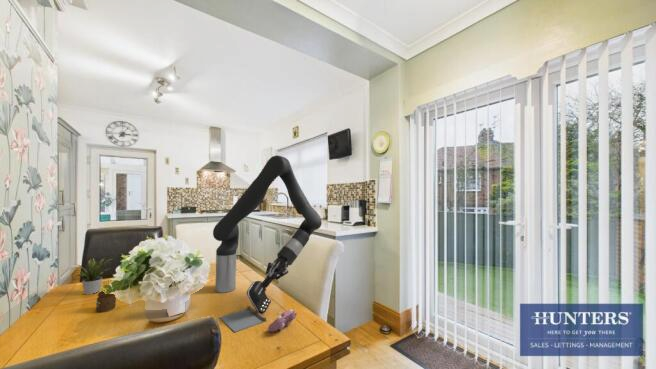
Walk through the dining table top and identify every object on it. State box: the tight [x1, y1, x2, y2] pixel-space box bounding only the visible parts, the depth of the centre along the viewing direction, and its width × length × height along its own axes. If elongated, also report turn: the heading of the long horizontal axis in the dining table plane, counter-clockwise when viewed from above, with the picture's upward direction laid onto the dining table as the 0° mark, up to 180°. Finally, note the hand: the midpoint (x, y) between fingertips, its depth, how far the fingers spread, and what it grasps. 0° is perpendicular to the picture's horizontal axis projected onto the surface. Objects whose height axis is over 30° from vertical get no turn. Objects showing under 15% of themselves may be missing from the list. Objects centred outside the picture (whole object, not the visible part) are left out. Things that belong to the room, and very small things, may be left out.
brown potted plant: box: [95, 279, 117, 313], centre depth 102 cm, size 6×6×12 cm
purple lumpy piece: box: [267, 308, 297, 333], centre depth 89 cm, size 10×5×7 cm, turn 149°
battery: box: [246, 280, 272, 315], centre depth 99 cm, size 7×4×11 cm, turn 164°
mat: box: [219, 308, 264, 333], centre depth 94 cm, size 14×11×1 cm
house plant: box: [75, 258, 112, 295], centre depth 120 cm, size 14×14×16 cm
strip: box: [246, 305, 267, 323], centre depth 98 cm, size 14×1×1 cm, turn 43°
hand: (263, 286), depth 100 cm, fingers closed
